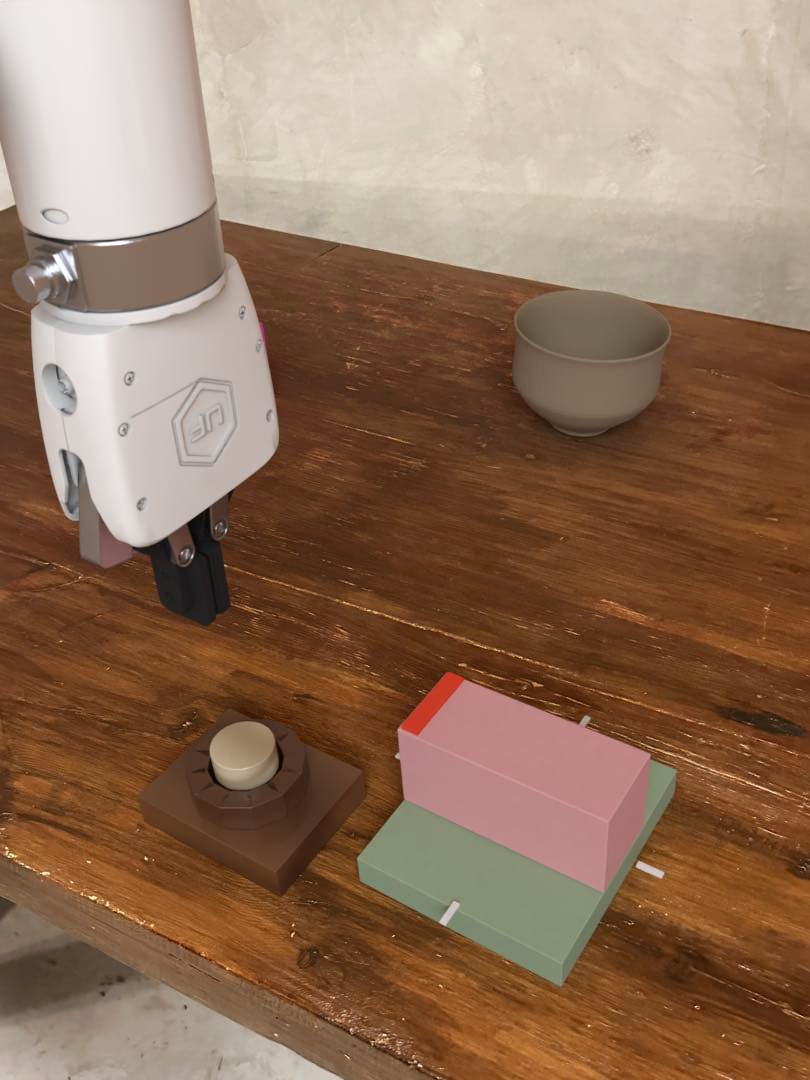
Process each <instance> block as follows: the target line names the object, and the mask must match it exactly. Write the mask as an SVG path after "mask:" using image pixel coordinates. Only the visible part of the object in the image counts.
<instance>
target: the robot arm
mask: <svg viewBox="0 0 810 1080" xmlns="http://www.w3.org/2000/svg"><path fill="white" fill-rule="evenodd" d="M190 2H191V1H190V0H0V147H1V151H2V155H3V158H4V159H3V160H4V163H5V167H6V171H7V175H8V180H9V183H10V188H11V192H12V196H13V199H14V203H15V208H16V212H17V215H18V219H19V224H20V227H21V231H22V238H23V242H24V246H25V250H26V254H27V259H28V261H26V262H25V265H24V266H23V267H20V268H17V269H16V270H14V271H13V272H12V274H11V284H12V287H13V289H14V292H15V293H16V295H17V297H19V299H20V300H21V301H22V302H24V303H25V304H28V305H35V304H37V303H38V304H37V305H35V306H34V307H33V308H31V310H30V339H31V341H30V342H31V355H32V368H33V369H32V371H33V378H34V379H33V380H34V387H35V397H36V402H37V410H38V416H39V422H40V427H41V428H40V429H41V433H42V439H43V444H44V448H45V454H46V458H47V463H48V467H49V471H50V475H51V479H52V482H53V486H54V489H55V493H56V495H57V499H58V502H59V504H60V506H61V509H62V511H63V513H64V515H65V517H67V519H69V520H70V521H72V522H78V535H79V536H78V537H79V538H78V539H79V555H80V558H81V559H82V560H83V561H86V562H88V563H90V564H92V565H94V566H97V567H99V568H101V569H105V570H106V569H111V568H112V567H115V566H116V565H119V564H122V563H124V562H127V561H129V560H131V559H133V558H134V556H136V555H138V554H143V555H145V556H148V557H150V562H151V566H152V571H153V575H154V581H155V585H156V590H157V595H158V598H159V601H160V603H161V605H162V606H163V607H164V608H165V609H166V610H167V611H169V612H171V613H173V614H176V615H177V616H182V617H184V618H186V619H189V620H191V621H193V622H195V623H196V624H197V623H198V624H200V625H202V626H204V627H209V626H210V625H211V624H213V622H215V621H216V620H217V615H218V614H220V615H223V614H225V612H226V611H227V610H229V609H230V608H231V607H232V606H231V605H232V603H231V597H230V592H229V586H228V581H227V573H226V567H225V563H224V557H223V550H222V545H221V544H220V541H222V540H223V539H224V538H225V537H226V535H227V534H228V532H229V528H230V513H229V511H230V510H229V508H230V507H229V504H230V501H231V499H232V497H233V494H234V491H235V489H236V487H238V486H240V485H241V484H242V483H243V482H245V481H246V480H247V479H248V478H250V477H251V476H252V475H254V474H255V473H256V472H257V471H259V470H260V469H262V467H264V466H265V465H266V464H267V463H268V462H269V461H270V459H272V457H273V456H274V454H275V452H276V451H277V449H278V447H279V443H280V442H279V441H280V428H279V427H280V425H279V418H278V410H277V403H276V398H275V397H276V396H275V392H274V391H275V390H274V386H273V380H272V375H271V368H270V365H269V358H267V356H268V353H267V354H266V350H267V348H266V349H265V345H264V340H263V336H262V332H261V328H260V324H259V322H260V321H259V317H258V314H257V311H256V307H255V304H254V301H253V298H252V295H251V293H250V289H249V287H248V283H247V281H246V279H245V276H244V273H243V271H242V268H241V267H240V264H239V261H238V260H237V258H236V257H235V256H233V255H232V254H230V253H228V252H225V247H224V246H225V245H224V240H223V232H222V226H221V225H222V224H221V219H220V211H219V205H218V204H219V203H218V197H217V190H216V182H215V176H214V173H213V161H212V153H211V147H210V146H211V145H210V140H209V133H208V125H207V118H206V111H205V104H204V95H203V89H202V81H201V76H200V75H201V74H200V68H199V60H198V53H197V45H196V40H195V31H194V25H193V17H192V10H191V3H190Z"/></svg>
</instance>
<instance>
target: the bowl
mask: <svg viewBox="0 0 810 1080" xmlns="http://www.w3.org/2000/svg"><path fill="white" fill-rule="evenodd" d="M513 327H514V331H515V332H514V333H515V334H514V335H515V337H514V350H513V351H514V352H513V359H512V368H511V377H512V381H513V385H514V386H515V387H514V388H515V389H516V391H517V392H518V394H519V396H520V397H521V398H522V400H523V401H524V402H525V404H526V405H527V406H528V407H529V408H530V409H531V410H532V411H533V412H535V414H536V415H538V416H540V417H541V418H543V419H544V420H546V421H547V422H549V425H551V426H552V427H553V428H554V429H555V430H557V431H558V432H561V433H562V434H565V435H569V436H572V437H581V438H586V437H588V438H589V437H595V436H598V435H601V434H604V433H606V432H607V431H608V430H609V429H612V428H615V427H617V426H619V425H622V424H625V423H627V422H629V421H630V420H633V419H635V417H637V416H638V415H639V414H641V413H642V412H643V411H644V410H645V409H646V408H647V407H648V406H650V405H651V403H652V402H653V401H654V400H655V398H656V396H657V394H658V392H659V389H660V385H661V381H662V380H661V378H662V372H663V365H664V360H665V354H666V350H667V346H668V345H669V342H670V340H671V338H672V333H673V332H672V326H671V324H670V322H669V320H668V319H667V317H666V316H665V315H664V314H663V313H662V312H660V311H659V310H658V309H656V308H655V307H653V306H652V305H650V304H648V303H646V302H644V301H641V300H639V299H636V298H634V297H631V296H627V295H624V294H621V293H616V292H611V291H604V290H597V289H596V290H595V289H566V290H557V291H551V292H546V293H543V294H539V295H537V296H534V297H532V298H530V299H528V300H527V301H525V302H524V303H522V304H521V305H520V306H519V307H518V308H517V309H516V311H515V313H514V316H513Z"/></svg>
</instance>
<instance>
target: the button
mask: <svg viewBox="0 0 810 1080" xmlns="http://www.w3.org/2000/svg"><path fill="white" fill-rule="evenodd" d="M210 757H211V761H212V765H213V769H214V773H215V777H216V779H217V780H218V781H219V783H220V784H222V785H223V786H224V787H226V788H228V789H231V790H236V791H247V790H252V789H255V788H258V787H260V786H262V785H264V784H266V783H267V782H268V781H269V780H270V779H272V777H273V776H274V775H275V773H276V771H277V769H278V766H279V757H278V752H277V747H276V741H275V737H274V734H273V733H272V731H271V730H270V729H269V728H268V727H266V726H265V725H263V724H261V723H258V722H252V721H243V722H237V723H234V724H231V725H229V726H227V727H225V728H223V729H222V730H221V731H219V732H218V733H217V734H216V735H215V737H214V738H213V740H212V742H211V744H210Z"/></svg>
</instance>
